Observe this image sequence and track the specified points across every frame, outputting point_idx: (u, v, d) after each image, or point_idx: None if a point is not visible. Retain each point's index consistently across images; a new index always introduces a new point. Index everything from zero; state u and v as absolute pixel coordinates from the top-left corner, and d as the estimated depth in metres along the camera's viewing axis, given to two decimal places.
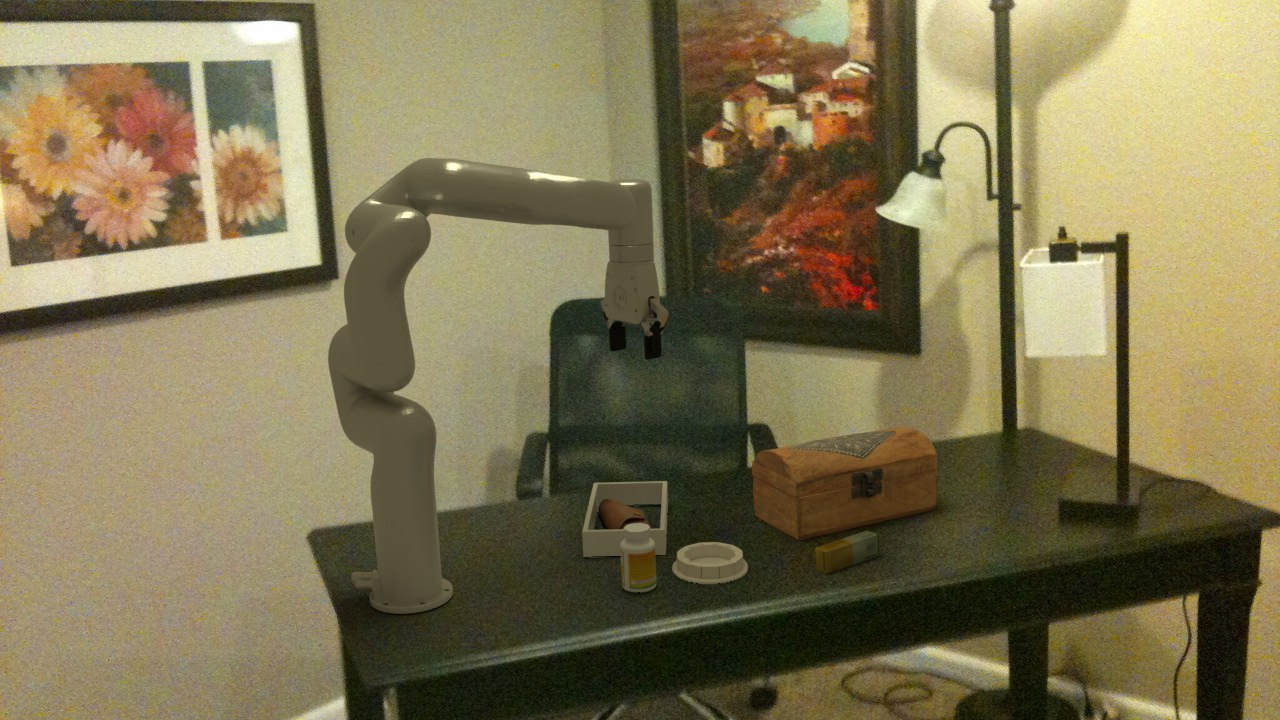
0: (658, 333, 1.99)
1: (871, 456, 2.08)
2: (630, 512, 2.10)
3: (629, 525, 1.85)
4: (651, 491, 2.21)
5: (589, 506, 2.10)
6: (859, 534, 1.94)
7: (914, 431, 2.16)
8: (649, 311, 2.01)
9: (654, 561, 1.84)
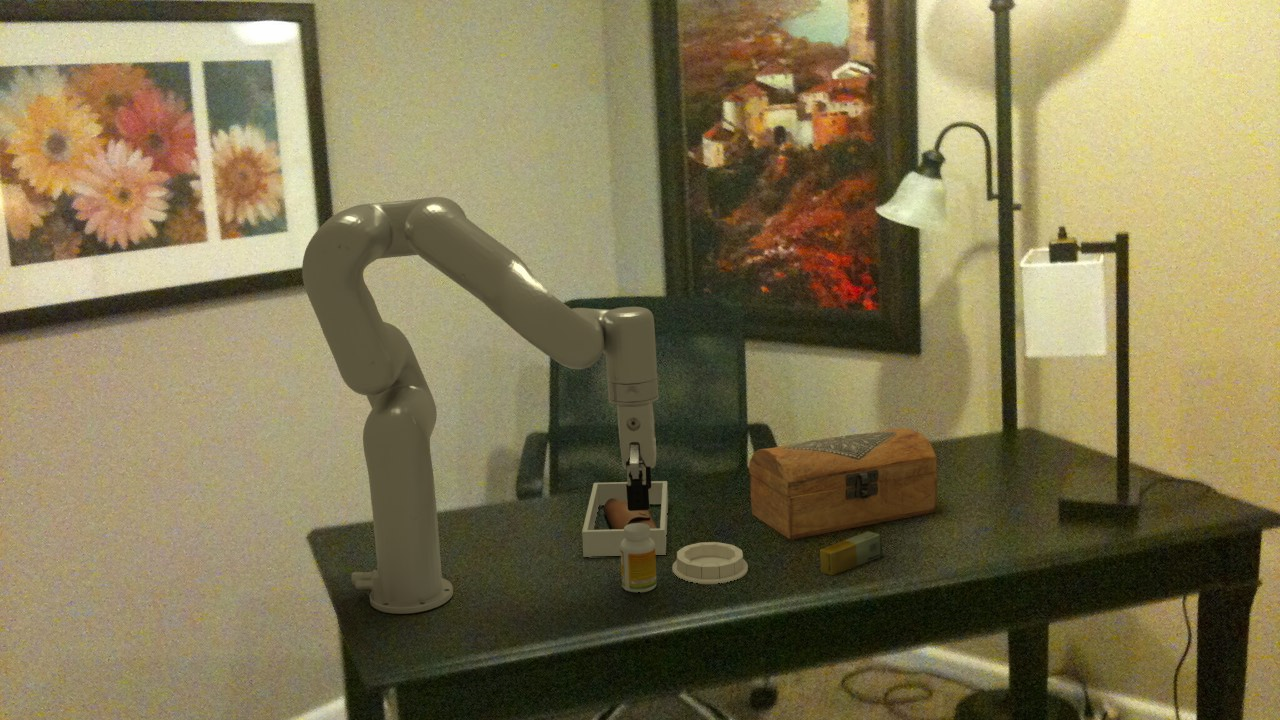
0: None
1: (866, 457, 2.07)
2: (635, 512, 2.10)
3: (629, 525, 1.85)
4: (651, 491, 2.21)
5: (589, 506, 2.10)
6: (861, 535, 1.93)
7: (915, 433, 2.15)
8: None
9: (654, 561, 1.84)
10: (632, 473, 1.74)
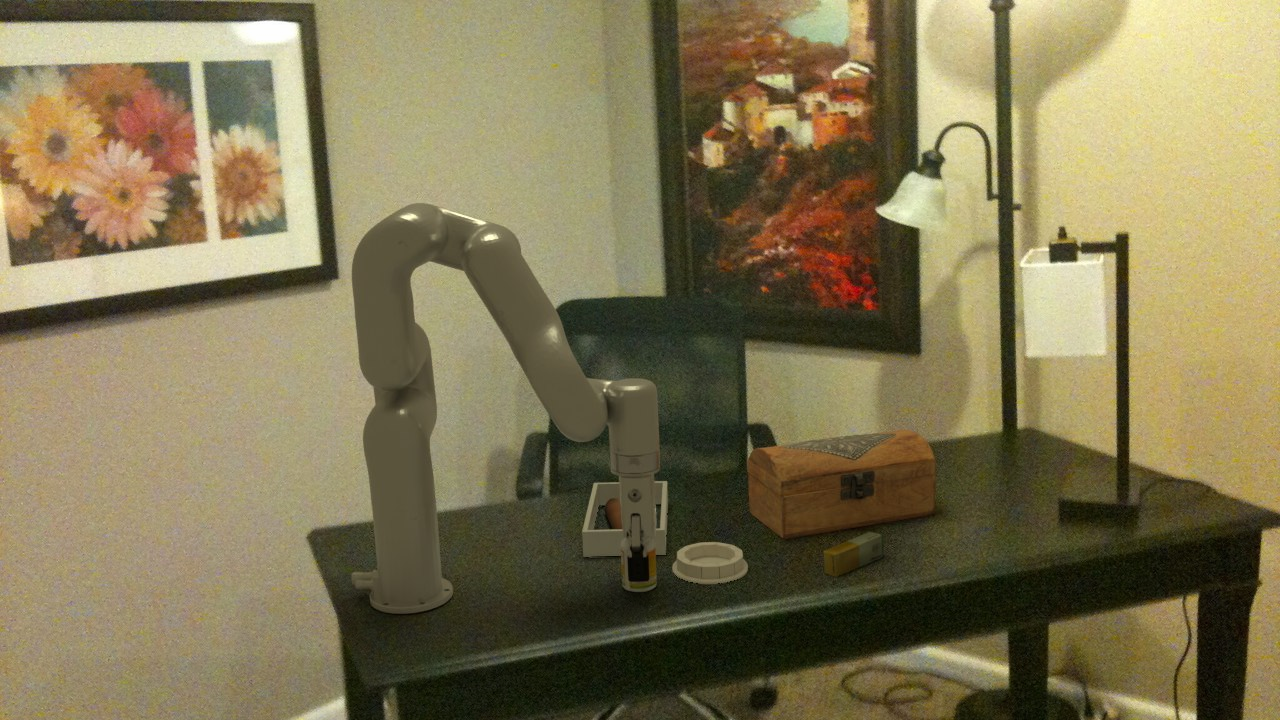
0: None
1: (863, 458, 2.07)
2: None
3: None
4: None
5: (589, 506, 2.10)
6: (863, 535, 1.93)
7: (915, 435, 2.14)
8: None
9: (654, 560, 1.84)
10: (633, 549, 1.78)
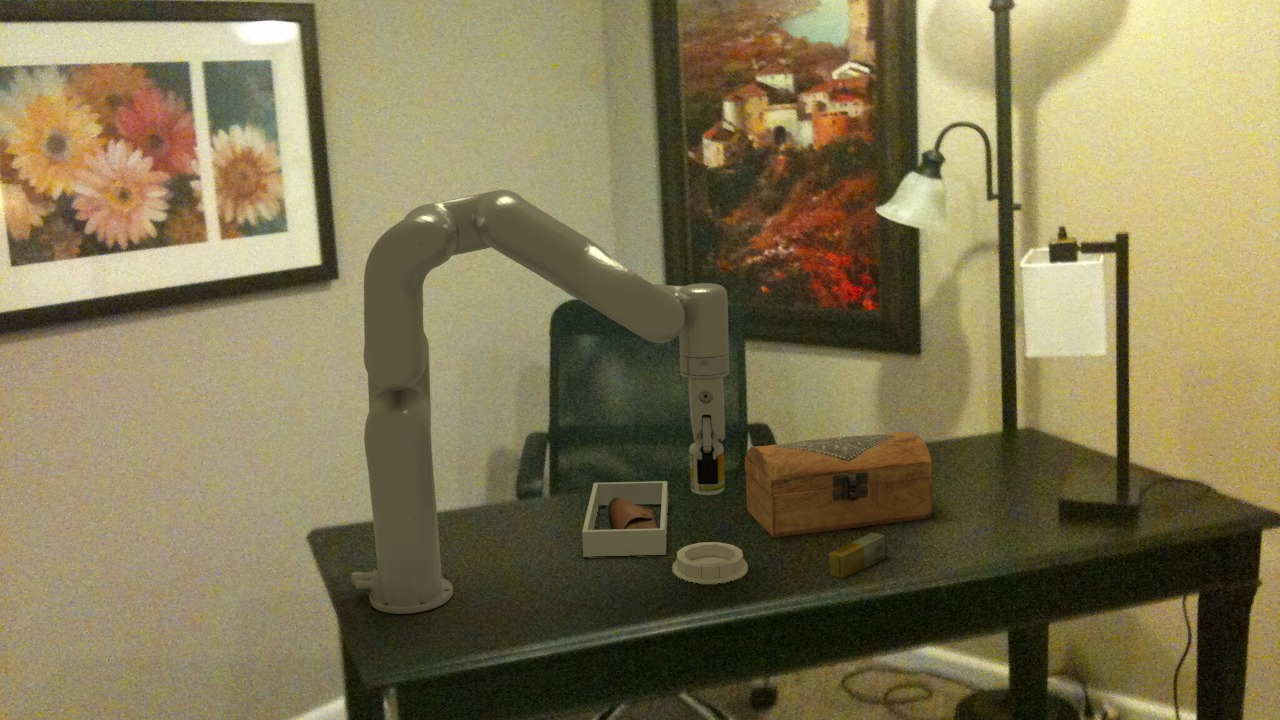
0: None
1: (857, 459, 2.06)
2: (637, 512, 2.10)
3: None
4: (651, 491, 2.21)
5: (589, 506, 2.10)
6: (867, 536, 1.93)
7: (914, 437, 2.13)
8: None
9: (723, 464, 1.87)
10: (704, 450, 1.80)
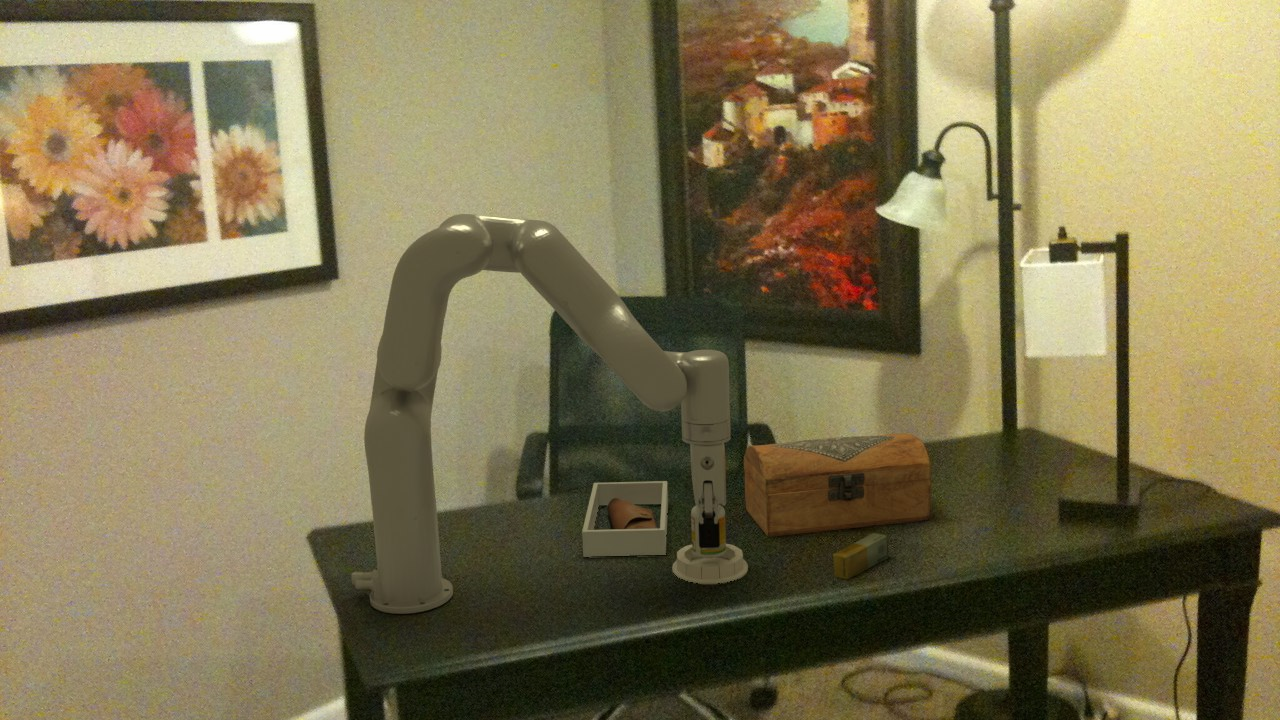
0: None
1: (853, 460, 2.06)
2: (637, 512, 2.10)
3: None
4: (651, 491, 2.21)
5: (589, 506, 2.10)
6: (869, 537, 1.92)
7: (913, 438, 2.12)
8: None
9: (724, 527, 1.89)
10: (706, 516, 1.83)
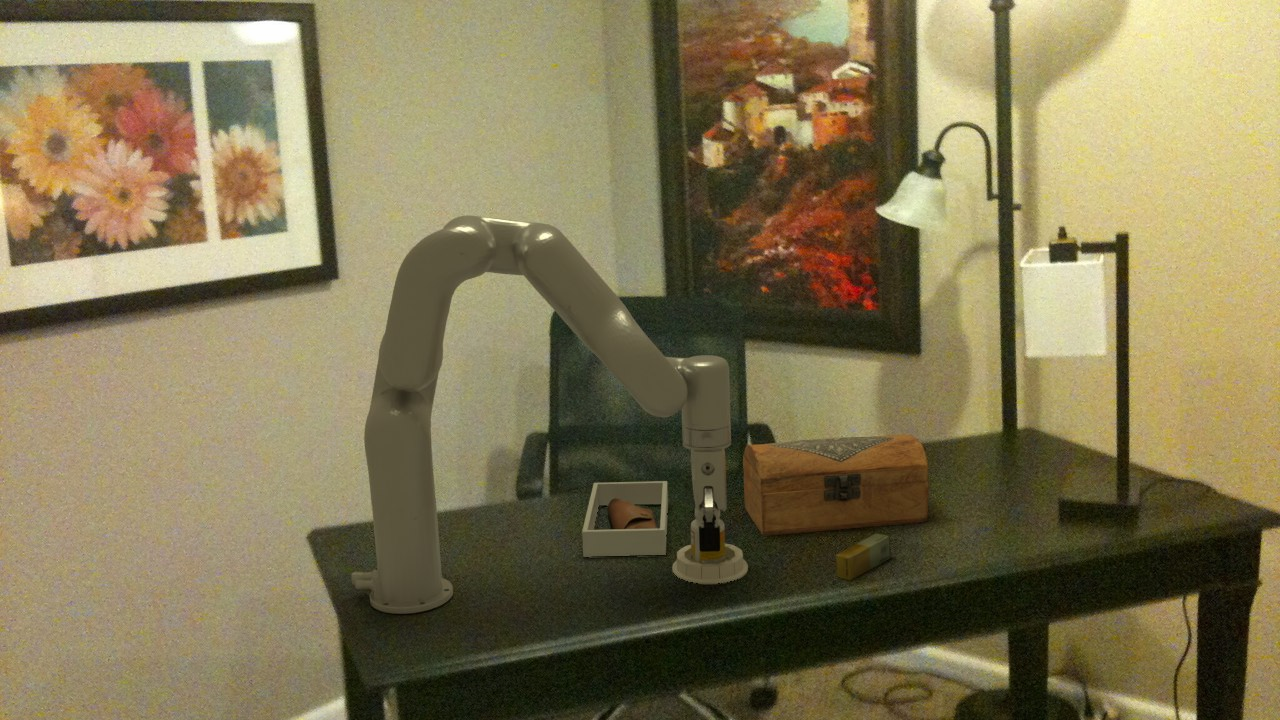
0: None
1: (850, 460, 2.06)
2: (637, 512, 2.10)
3: None
4: (651, 491, 2.21)
5: (589, 506, 2.10)
6: (871, 537, 1.92)
7: (912, 440, 2.11)
8: None
9: (724, 541, 1.89)
10: (706, 517, 1.81)
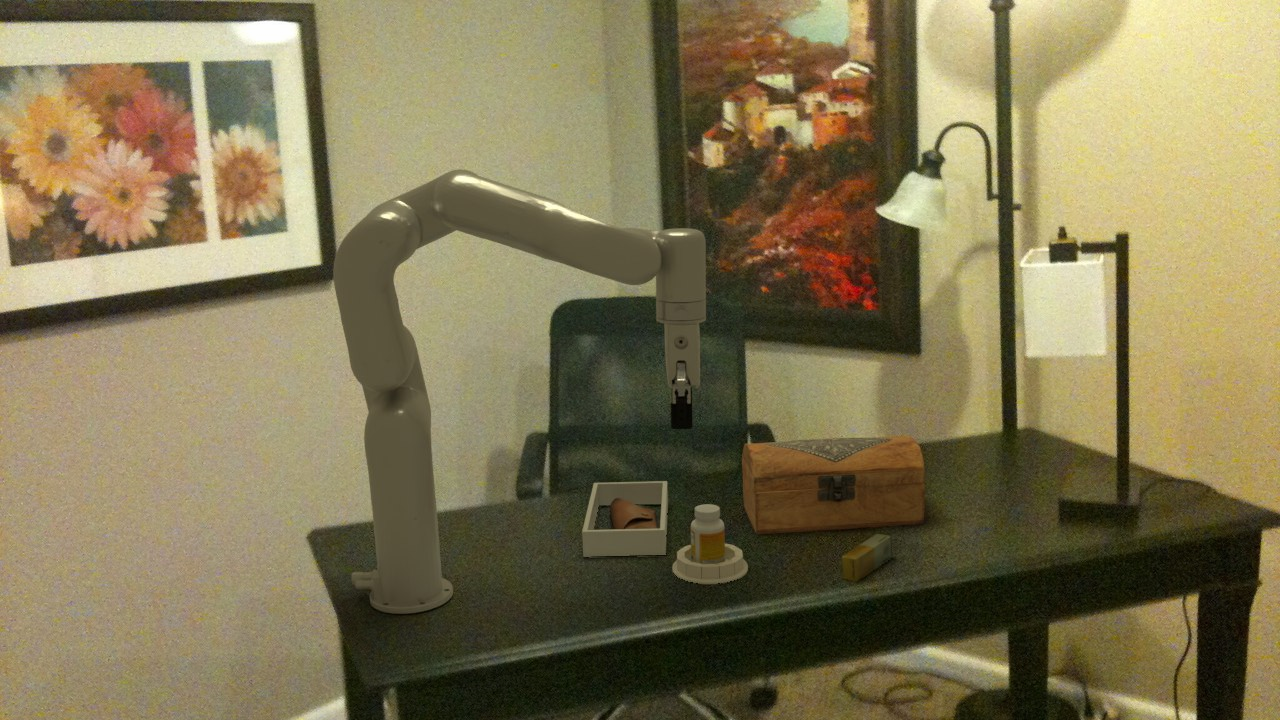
0: None
1: (845, 461, 2.06)
2: (638, 512, 2.10)
3: (699, 506, 1.90)
4: (651, 491, 2.21)
5: (589, 506, 2.10)
6: (873, 538, 1.92)
7: (910, 441, 2.10)
8: None
9: (724, 541, 1.89)
10: (678, 390, 1.76)
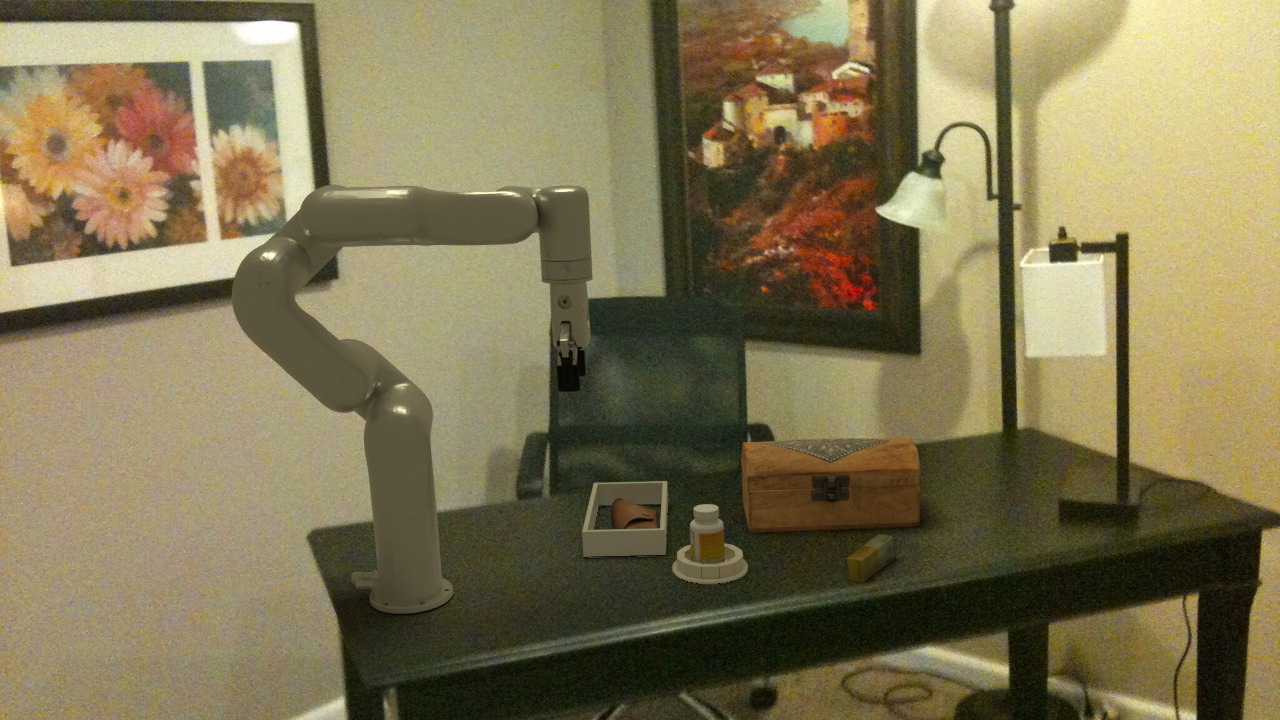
0: None
1: (839, 461, 2.05)
2: (639, 512, 2.10)
3: (698, 506, 1.90)
4: (651, 491, 2.21)
5: (589, 506, 2.10)
6: (876, 538, 1.92)
7: (908, 443, 2.09)
8: None
9: (723, 540, 1.89)
10: (562, 351, 1.71)
